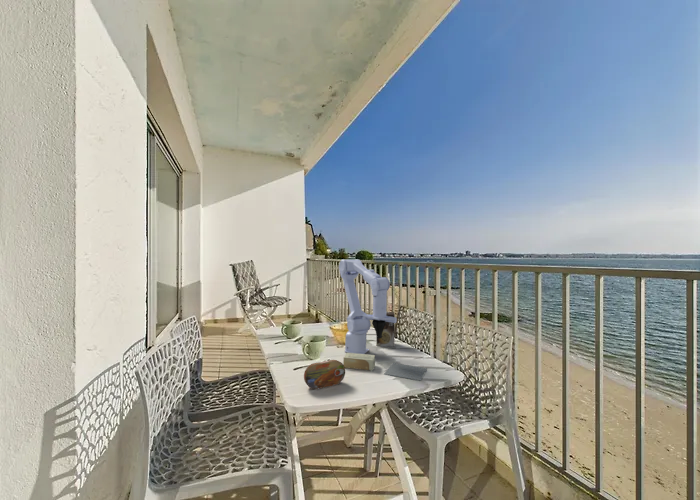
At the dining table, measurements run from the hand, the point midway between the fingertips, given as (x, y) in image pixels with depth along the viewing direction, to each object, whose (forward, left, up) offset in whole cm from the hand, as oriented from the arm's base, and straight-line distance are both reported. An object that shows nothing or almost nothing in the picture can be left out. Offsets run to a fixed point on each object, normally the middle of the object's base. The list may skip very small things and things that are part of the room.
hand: (379, 337), depth 135 cm
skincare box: (+1, -7, -8) cm, 11 cm away
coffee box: (-5, +25, -11) cm, 28 cm away
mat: (+13, -5, -10) cm, 17 cm away
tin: (-10, -30, -11) cm, 33 cm away
